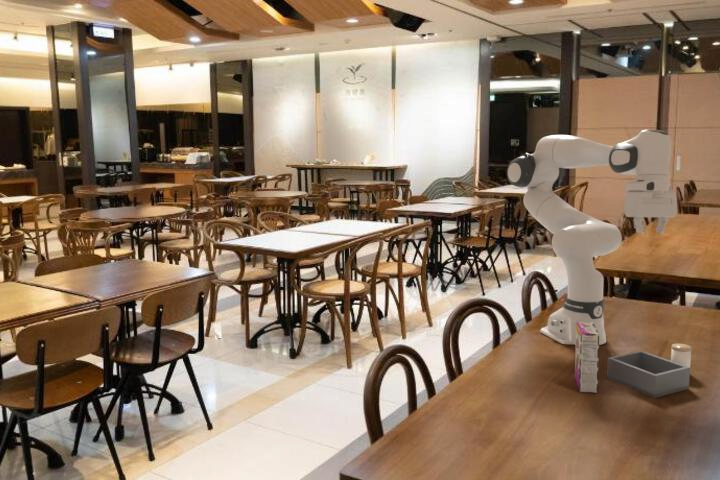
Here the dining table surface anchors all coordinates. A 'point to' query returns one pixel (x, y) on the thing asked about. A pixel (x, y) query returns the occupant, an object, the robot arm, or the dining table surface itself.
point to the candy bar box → (586, 357)
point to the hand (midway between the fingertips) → (650, 233)
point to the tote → (648, 373)
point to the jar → (681, 354)
